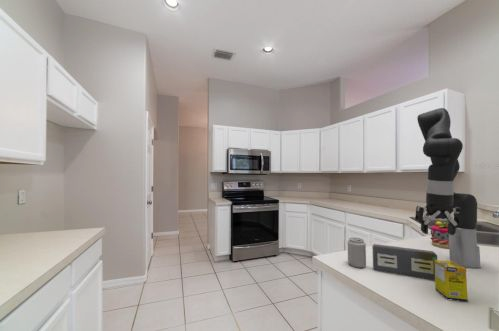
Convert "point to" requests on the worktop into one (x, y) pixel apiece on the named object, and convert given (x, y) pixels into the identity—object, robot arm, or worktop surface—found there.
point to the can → (356, 252)
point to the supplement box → (451, 280)
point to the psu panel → (404, 261)
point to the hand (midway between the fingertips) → (437, 233)
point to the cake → (440, 235)
